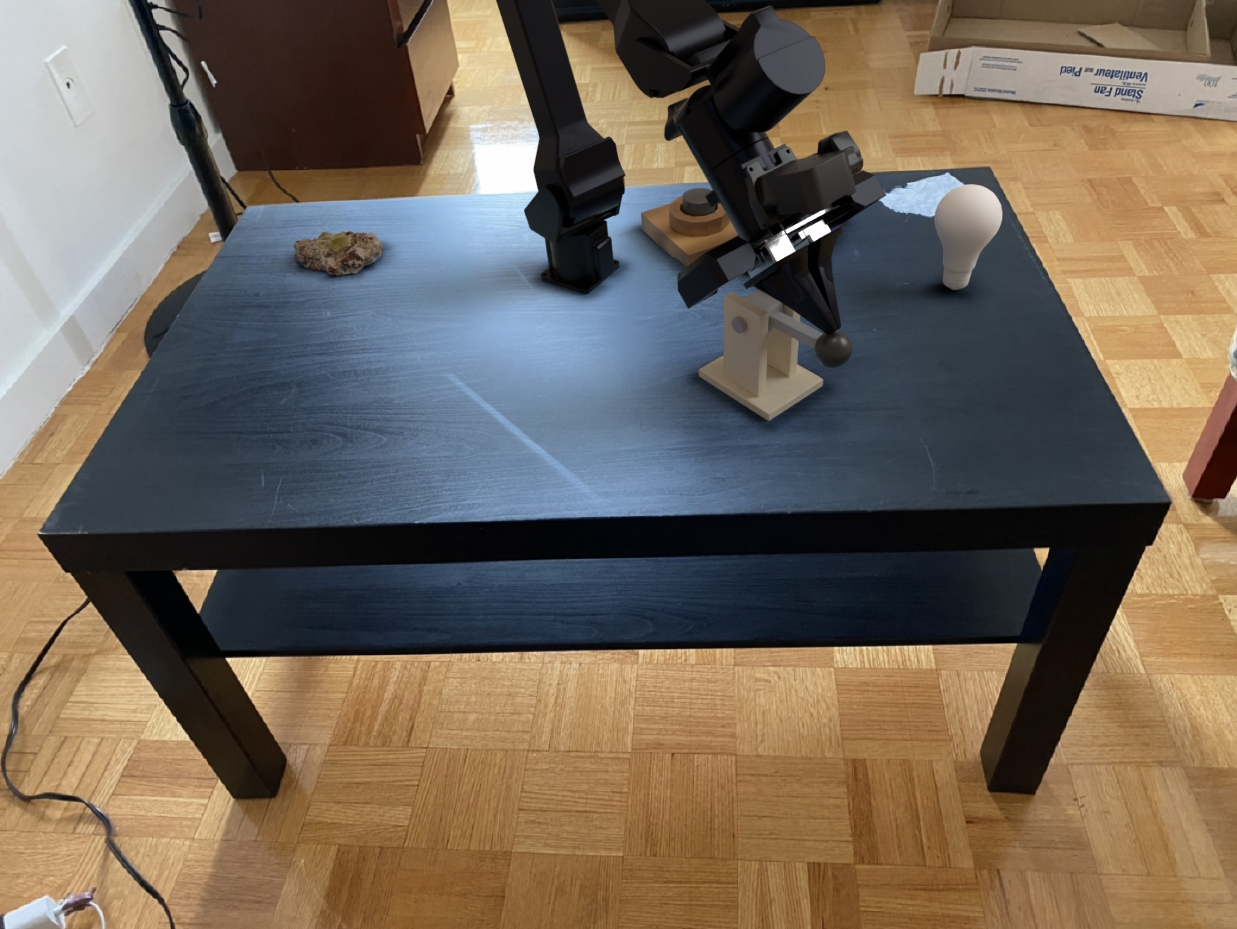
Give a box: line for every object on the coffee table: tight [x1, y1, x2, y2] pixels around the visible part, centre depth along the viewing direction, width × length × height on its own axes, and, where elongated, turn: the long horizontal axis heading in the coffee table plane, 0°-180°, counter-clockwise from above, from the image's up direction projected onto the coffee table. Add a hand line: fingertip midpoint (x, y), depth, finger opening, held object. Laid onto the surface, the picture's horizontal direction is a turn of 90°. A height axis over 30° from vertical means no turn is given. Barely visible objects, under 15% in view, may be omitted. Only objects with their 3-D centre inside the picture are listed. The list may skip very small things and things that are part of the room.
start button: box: [681, 187, 715, 217], centre depth 104 cm, size 4×4×2 cm
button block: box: [640, 195, 738, 268], centre depth 106 cm, size 11×9×4 cm
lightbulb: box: [933, 183, 1003, 291], centre depth 93 cm, size 6×6×11 cm
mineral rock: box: [293, 230, 385, 277], centre depth 110 cm, size 11×4×8 cm
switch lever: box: [743, 289, 853, 369], centre depth 80 cm, size 11×3×3 cm, turn 39°
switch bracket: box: [698, 288, 824, 422], centre depth 84 cm, size 9×7×10 cm
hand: (834, 331), depth 76 cm, fingers closed, pressing on switch lever
